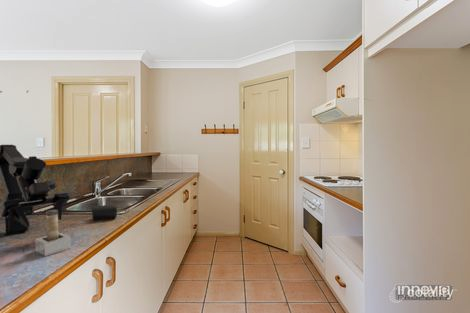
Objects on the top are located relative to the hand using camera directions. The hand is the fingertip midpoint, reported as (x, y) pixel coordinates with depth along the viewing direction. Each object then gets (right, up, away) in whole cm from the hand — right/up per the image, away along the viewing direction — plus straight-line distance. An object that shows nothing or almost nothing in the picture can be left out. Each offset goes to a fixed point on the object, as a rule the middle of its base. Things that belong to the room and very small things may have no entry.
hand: (45, 222), depth 83 cm
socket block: (+5, -8, -3) cm, 10 cm away
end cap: (+4, -7, +31) cm, 33 cm away
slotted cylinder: (+5, -8, -3) cm, 10 cm away
